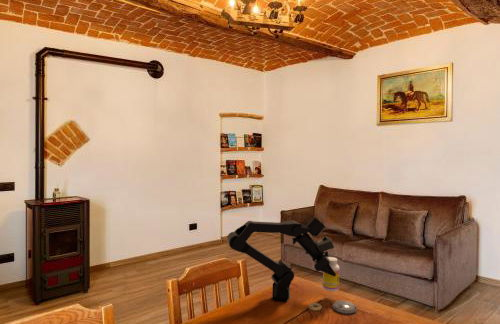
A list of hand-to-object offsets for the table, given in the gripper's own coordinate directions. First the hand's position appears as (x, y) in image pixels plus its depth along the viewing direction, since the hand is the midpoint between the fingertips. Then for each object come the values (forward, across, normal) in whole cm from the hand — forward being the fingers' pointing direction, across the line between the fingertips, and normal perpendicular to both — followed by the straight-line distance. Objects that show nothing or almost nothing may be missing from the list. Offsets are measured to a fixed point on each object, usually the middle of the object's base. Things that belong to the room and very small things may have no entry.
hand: (334, 272), depth 147 cm
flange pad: (+10, -8, +6) cm, 14 cm away
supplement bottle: (+4, 0, +6) cm, 7 cm away
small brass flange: (+2, -10, +14) cm, 17 cm away
